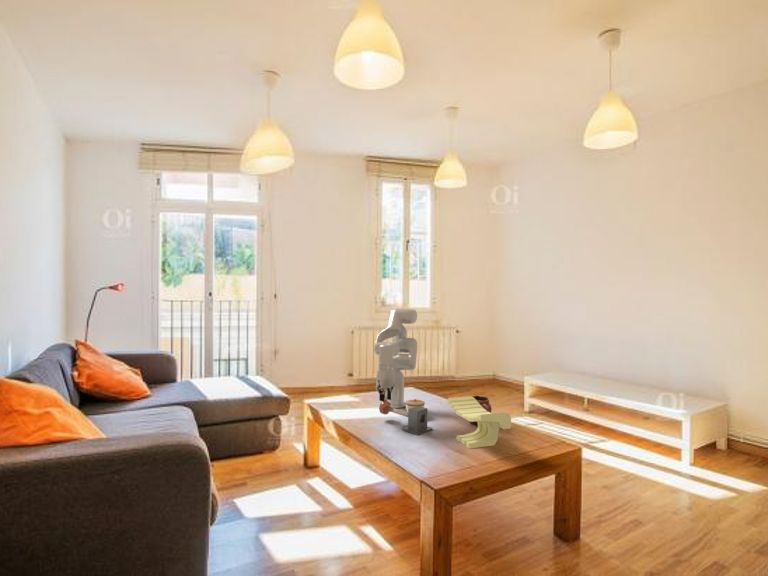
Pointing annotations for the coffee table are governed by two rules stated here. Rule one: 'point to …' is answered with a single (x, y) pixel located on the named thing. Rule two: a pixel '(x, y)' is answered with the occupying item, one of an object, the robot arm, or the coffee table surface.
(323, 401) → the coffee table surface
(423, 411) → the grey square peg socket
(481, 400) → the decorative planter
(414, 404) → the lidded jar
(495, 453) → the coffee table surface
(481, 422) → the slatted curved stool
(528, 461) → the coffee table surface
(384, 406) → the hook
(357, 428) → the coffee table surface
